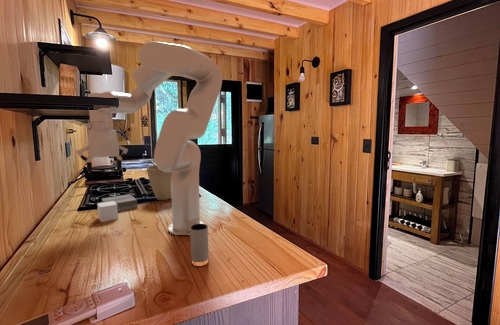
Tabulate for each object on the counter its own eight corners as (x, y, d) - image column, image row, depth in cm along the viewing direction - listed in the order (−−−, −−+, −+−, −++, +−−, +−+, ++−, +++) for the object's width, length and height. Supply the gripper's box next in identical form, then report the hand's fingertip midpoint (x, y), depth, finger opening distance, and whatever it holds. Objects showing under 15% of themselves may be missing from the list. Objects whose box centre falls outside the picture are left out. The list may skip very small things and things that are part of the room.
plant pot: (147, 196, 139) (145, 165, 137) (176, 192, 146) (175, 163, 143) (149, 203, 126) (147, 170, 124) (182, 200, 132) (180, 168, 130)
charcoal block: (137, 208, 121) (136, 199, 120) (107, 214, 113) (106, 204, 113) (130, 202, 130) (129, 194, 129) (102, 207, 123) (101, 198, 122)
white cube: (118, 219, 107) (117, 204, 106) (101, 222, 103) (99, 207, 102) (114, 214, 111) (113, 200, 110) (98, 218, 108) (97, 203, 107)
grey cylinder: (192, 268, 71) (191, 230, 69) (190, 259, 75) (189, 224, 73) (209, 265, 72) (208, 228, 70) (207, 257, 76) (206, 222, 75)
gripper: (75, 127, 94) (79, 175, 96) (128, 127, 104) (131, 170, 107) (73, 126, 100) (77, 172, 102) (124, 126, 110) (126, 167, 113)
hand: (104, 171), depth 105 cm, fingers open, 9 cm apart
